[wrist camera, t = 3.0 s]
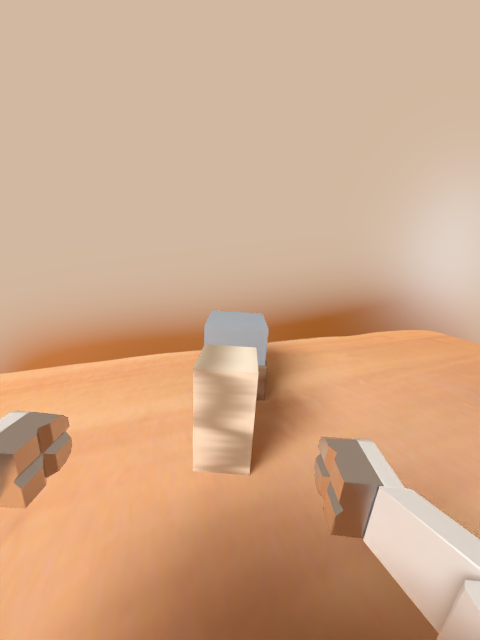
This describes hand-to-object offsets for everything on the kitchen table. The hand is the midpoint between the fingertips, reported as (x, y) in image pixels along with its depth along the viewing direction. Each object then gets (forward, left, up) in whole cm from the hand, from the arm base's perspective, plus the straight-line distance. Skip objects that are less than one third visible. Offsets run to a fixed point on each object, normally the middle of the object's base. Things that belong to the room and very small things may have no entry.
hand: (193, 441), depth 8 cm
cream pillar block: (-7, -10, -13) cm, 18 cm away
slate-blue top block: (-15, -21, -8) cm, 27 cm away
